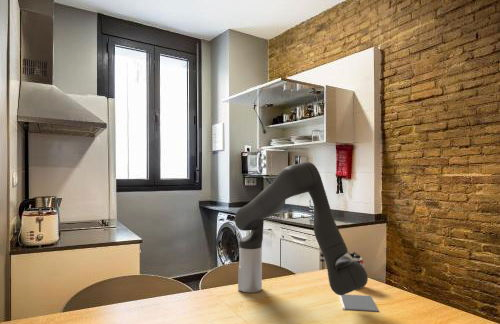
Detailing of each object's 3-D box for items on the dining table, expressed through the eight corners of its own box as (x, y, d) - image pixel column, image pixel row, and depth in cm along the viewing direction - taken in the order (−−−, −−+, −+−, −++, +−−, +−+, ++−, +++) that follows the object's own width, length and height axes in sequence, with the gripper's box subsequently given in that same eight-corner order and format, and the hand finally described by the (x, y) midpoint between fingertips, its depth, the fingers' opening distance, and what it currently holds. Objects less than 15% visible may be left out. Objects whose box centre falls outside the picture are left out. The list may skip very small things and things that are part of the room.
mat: (342, 309, 118) (342, 307, 118) (338, 295, 132) (338, 293, 132) (378, 311, 116) (378, 309, 116) (370, 296, 130) (370, 295, 130)
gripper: (364, 252, 110) (357, 243, 126) (319, 251, 112) (318, 241, 129) (365, 276, 109) (357, 263, 126) (319, 274, 112) (318, 261, 128)
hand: (337, 252), depth 127 cm, fingers closed on supplement bottle, 5 cm apart
